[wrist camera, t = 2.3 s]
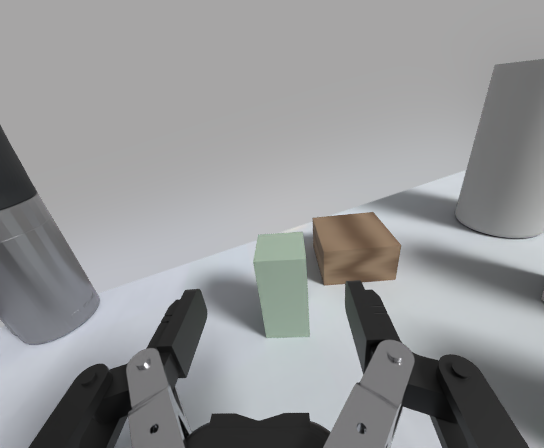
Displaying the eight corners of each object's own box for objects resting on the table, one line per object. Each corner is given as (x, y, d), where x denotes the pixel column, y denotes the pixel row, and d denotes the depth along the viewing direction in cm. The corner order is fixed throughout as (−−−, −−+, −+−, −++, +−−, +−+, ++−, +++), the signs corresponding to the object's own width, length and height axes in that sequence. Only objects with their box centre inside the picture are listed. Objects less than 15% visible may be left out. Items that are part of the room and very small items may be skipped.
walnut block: (324, 286, 35) (323, 252, 33) (313, 247, 44) (312, 217, 41) (395, 280, 35) (401, 245, 32) (370, 242, 44) (373, 212, 41)
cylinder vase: (484, 243, 40) (550, 58, 28) (440, 210, 51) (474, 67, 39) (568, 237, 39) (673, 43, 27) (504, 204, 50) (559, 57, 38)
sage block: (266, 338, 29) (253, 261, 24) (268, 305, 33) (258, 234, 28) (309, 336, 28) (306, 258, 23) (306, 303, 33) (302, 231, 28)
